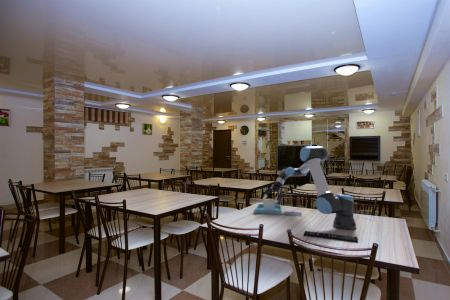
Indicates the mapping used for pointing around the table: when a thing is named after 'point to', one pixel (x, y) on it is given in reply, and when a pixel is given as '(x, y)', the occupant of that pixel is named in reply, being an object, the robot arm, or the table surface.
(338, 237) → the black keyboard
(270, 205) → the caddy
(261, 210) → the tray
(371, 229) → the table surface
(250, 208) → the table surface
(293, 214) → the dock mat
